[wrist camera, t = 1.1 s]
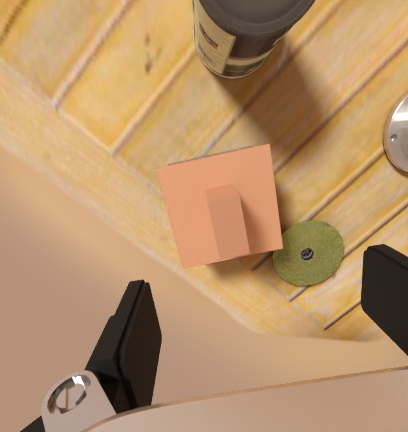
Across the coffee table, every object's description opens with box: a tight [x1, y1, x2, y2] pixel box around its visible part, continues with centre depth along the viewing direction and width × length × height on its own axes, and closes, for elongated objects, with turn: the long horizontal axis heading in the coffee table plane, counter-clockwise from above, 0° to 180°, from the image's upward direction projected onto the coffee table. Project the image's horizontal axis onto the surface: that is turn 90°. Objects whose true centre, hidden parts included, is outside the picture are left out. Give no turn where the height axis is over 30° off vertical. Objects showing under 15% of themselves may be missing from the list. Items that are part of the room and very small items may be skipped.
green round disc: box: [272, 221, 344, 286], centre depth 39 cm, size 11×11×2 cm
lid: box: [156, 144, 283, 269], centre depth 27 cm, size 13×13×7 cm
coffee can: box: [192, 0, 315, 79], centre depth 24 cm, size 10×10×14 cm
